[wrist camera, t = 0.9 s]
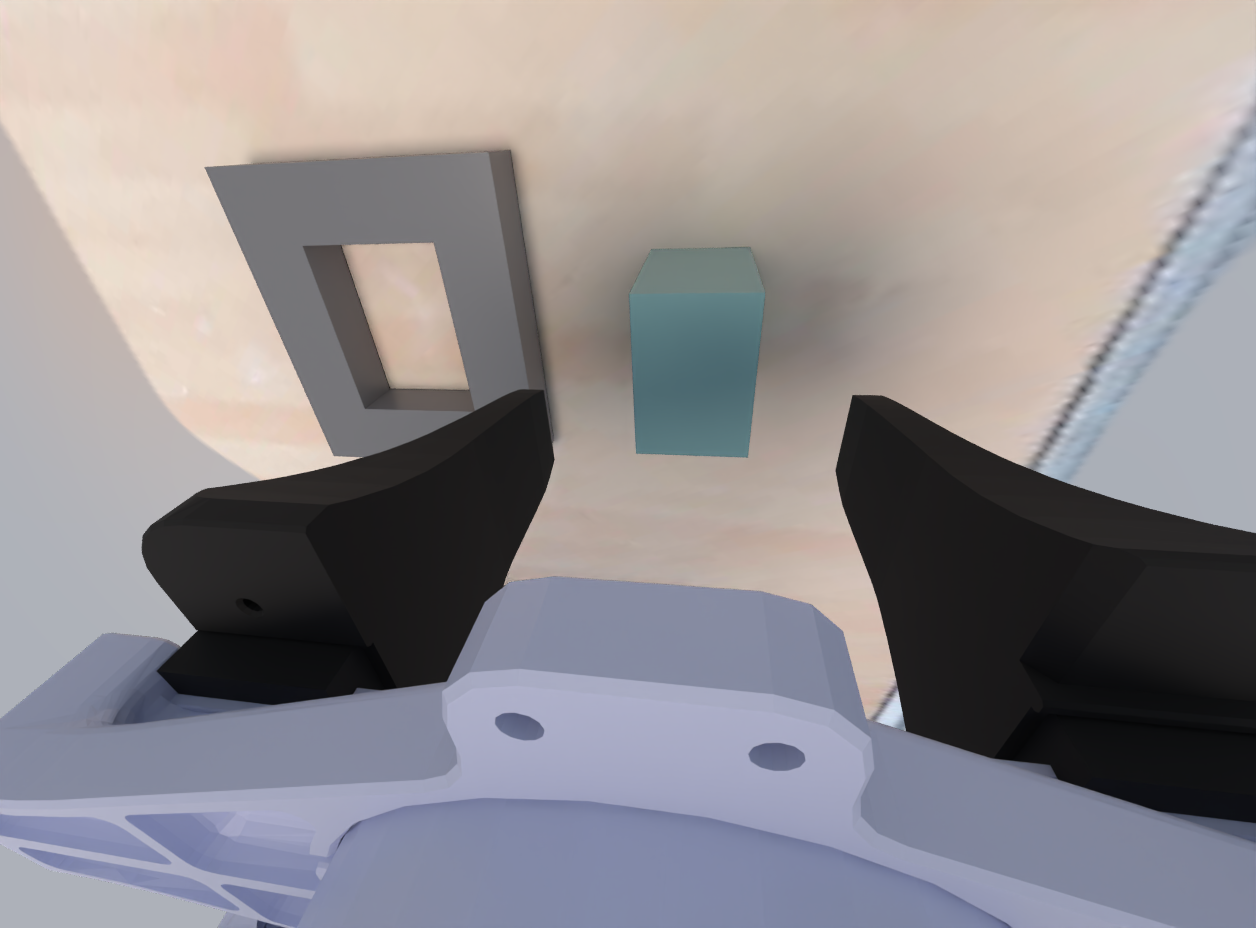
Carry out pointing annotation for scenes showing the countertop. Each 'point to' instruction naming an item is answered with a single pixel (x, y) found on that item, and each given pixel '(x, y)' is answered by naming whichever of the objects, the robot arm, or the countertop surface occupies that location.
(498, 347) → the socket plate
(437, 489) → the robot arm
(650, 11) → the countertop surface
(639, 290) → the plug
